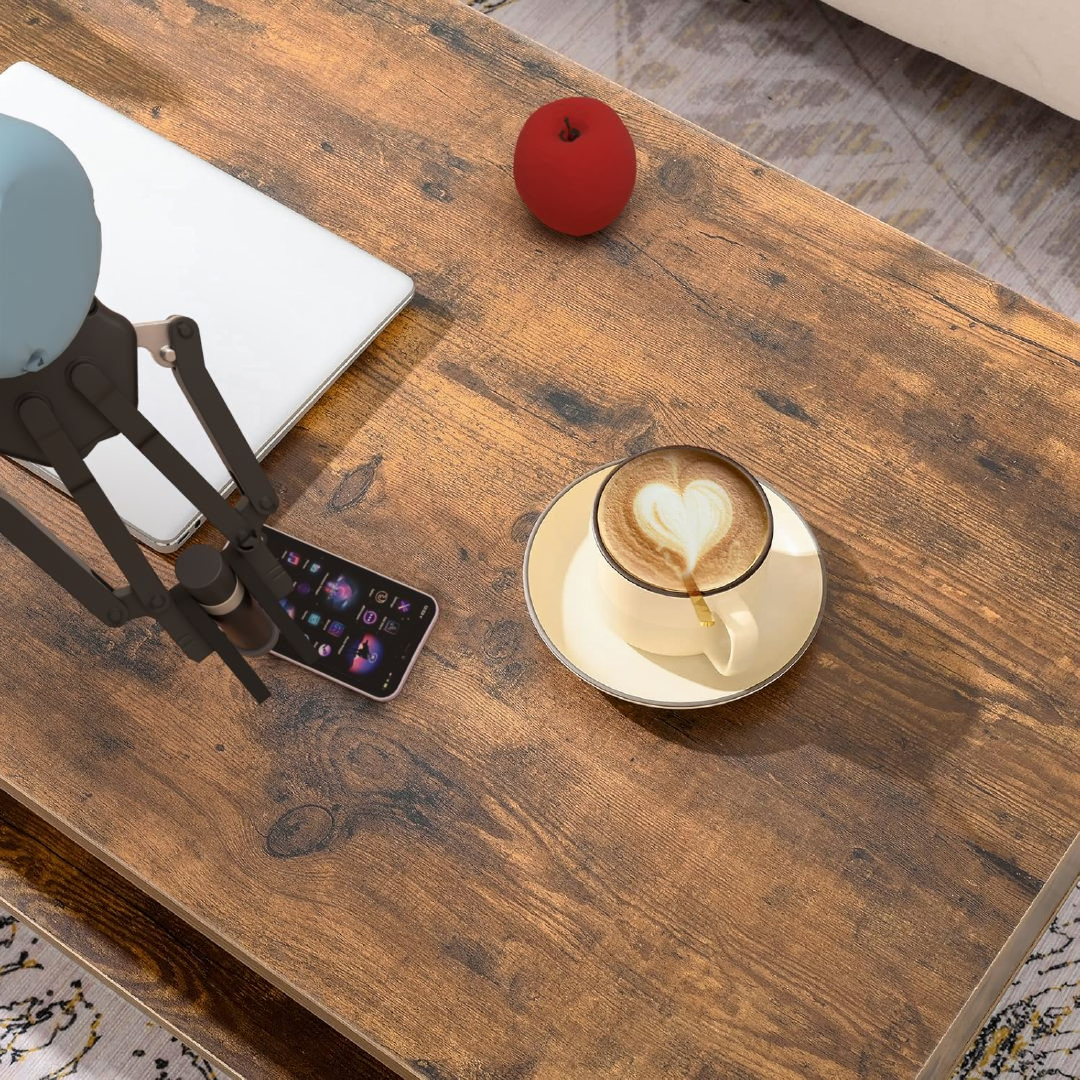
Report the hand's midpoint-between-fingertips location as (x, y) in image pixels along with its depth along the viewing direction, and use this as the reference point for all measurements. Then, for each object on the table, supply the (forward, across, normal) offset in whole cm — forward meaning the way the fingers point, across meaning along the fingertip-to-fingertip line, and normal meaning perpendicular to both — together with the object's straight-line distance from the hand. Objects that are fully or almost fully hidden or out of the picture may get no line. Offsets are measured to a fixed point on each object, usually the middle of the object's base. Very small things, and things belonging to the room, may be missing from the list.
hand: (283, 671), depth 58 cm
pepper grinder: (-1, 0, -5) cm, 5 cm away
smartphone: (+5, -4, -16) cm, 18 cm away
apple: (-4, -38, -26) cm, 46 cm away
